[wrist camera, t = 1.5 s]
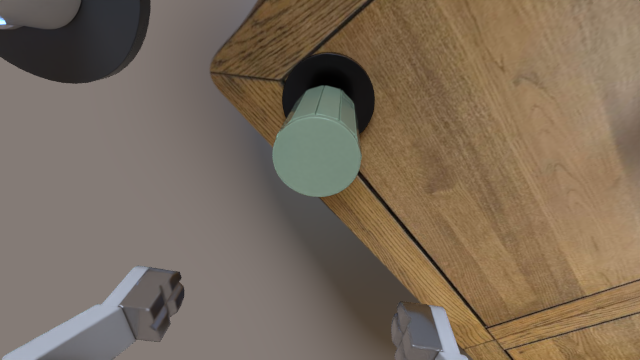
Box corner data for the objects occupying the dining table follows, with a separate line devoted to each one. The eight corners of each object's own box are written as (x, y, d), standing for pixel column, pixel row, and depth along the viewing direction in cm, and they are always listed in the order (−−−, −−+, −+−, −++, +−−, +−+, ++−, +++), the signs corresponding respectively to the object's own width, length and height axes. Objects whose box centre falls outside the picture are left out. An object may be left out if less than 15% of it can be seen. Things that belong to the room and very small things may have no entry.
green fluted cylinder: (281, 118, 28) (254, 159, 20) (324, 71, 26) (313, 96, 18) (325, 158, 30) (317, 211, 22) (369, 118, 28) (379, 161, 20)
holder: (266, 100, 35) (215, 155, 21) (327, 28, 30) (312, 38, 16) (328, 157, 38) (319, 236, 24) (392, 100, 34) (425, 158, 20)
